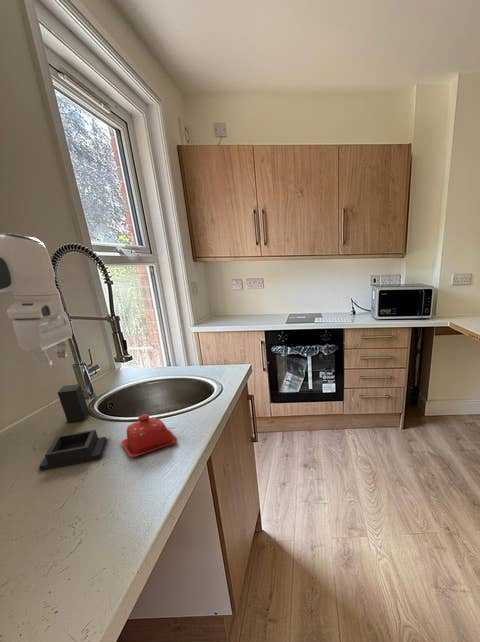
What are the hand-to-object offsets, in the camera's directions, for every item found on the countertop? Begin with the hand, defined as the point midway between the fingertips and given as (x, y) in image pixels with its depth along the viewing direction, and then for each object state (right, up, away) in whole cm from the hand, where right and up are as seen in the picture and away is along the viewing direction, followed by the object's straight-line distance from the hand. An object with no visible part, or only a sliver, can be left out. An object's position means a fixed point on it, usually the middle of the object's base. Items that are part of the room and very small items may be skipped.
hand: (55, 361), depth 90 cm
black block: (-5, -16, +16) cm, 23 cm away
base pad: (+8, -24, -4) cm, 25 cm away
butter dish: (+25, -22, 0) cm, 33 cm away
